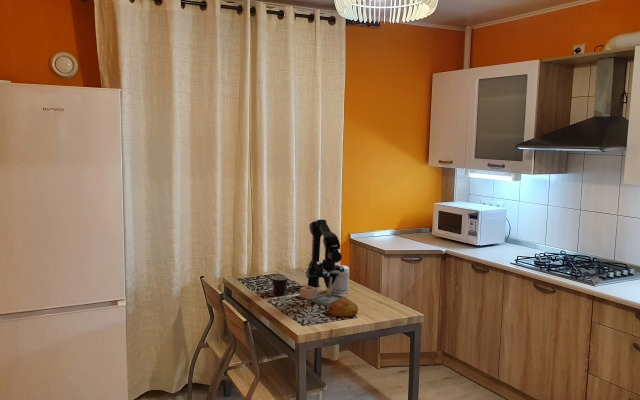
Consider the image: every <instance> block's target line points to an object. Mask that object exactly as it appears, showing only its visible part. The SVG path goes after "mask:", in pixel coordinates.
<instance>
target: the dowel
mask: <svg viewBox="0 0 640 400" xmlns="http://www.w3.org/2000/svg"><path fill="white" fill-rule="evenodd" d="M325 287H326V286H325ZM332 293H333V291H332V277H331V279H330V283H329V286H328V287H326V290H325V294H326V298H331V297H332Z"/></svg>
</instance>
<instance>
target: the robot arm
mask: <svg viewBox="0 0 640 400" xmlns="http://www.w3.org/2000/svg"><path fill="white" fill-rule="evenodd" d="M309 232H310V234H311V235H312V239H311V240H312V241H311V242H312V243H311V260H310V262H309V263H308V267H307V269H306V272H305V277H306V278H307V279H308V280H307V286H311V287H315V288H317V289H318V288H321V286H320V278H322V279H323V280H324V285H325V287H328V286H329V283H330V279H331V277H332V285H333V283H334V281H335V280H336V278H337V276H338V275H339V273H337V271H338V270H339V271H340V272H344V267H343V266H344V265H343V266H339V265H340V264H339V265H338V264H337V263H340V262H341V261H342V259H343V256H342V253H340V252H339V250H340V249H341V243H340V239H339V238H338V236H337V234H335V232H332V231H331V229H330V227H329V225H328V223H327V220H326V219H316V220H315V221H312V222H310V224H309ZM322 237H323V238H322ZM321 238H322V243H323V247H324V259H322V262H320V255H321Z"/></svg>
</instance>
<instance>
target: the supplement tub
mask: <svg viewBox="0 0 640 400" xmlns="http://www.w3.org/2000/svg"><path fill="white" fill-rule="evenodd" d="M339 266H343V267H344V272H340V271H339V270H338V271H337V273H339V275H338V276H337V278H336V280H335V281H334V283H333V285H332V293H333V292H334V294H347V293H348V292H349V283H350V267H349V266H347V265H344V264H343V265H341V264H339Z"/></svg>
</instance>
